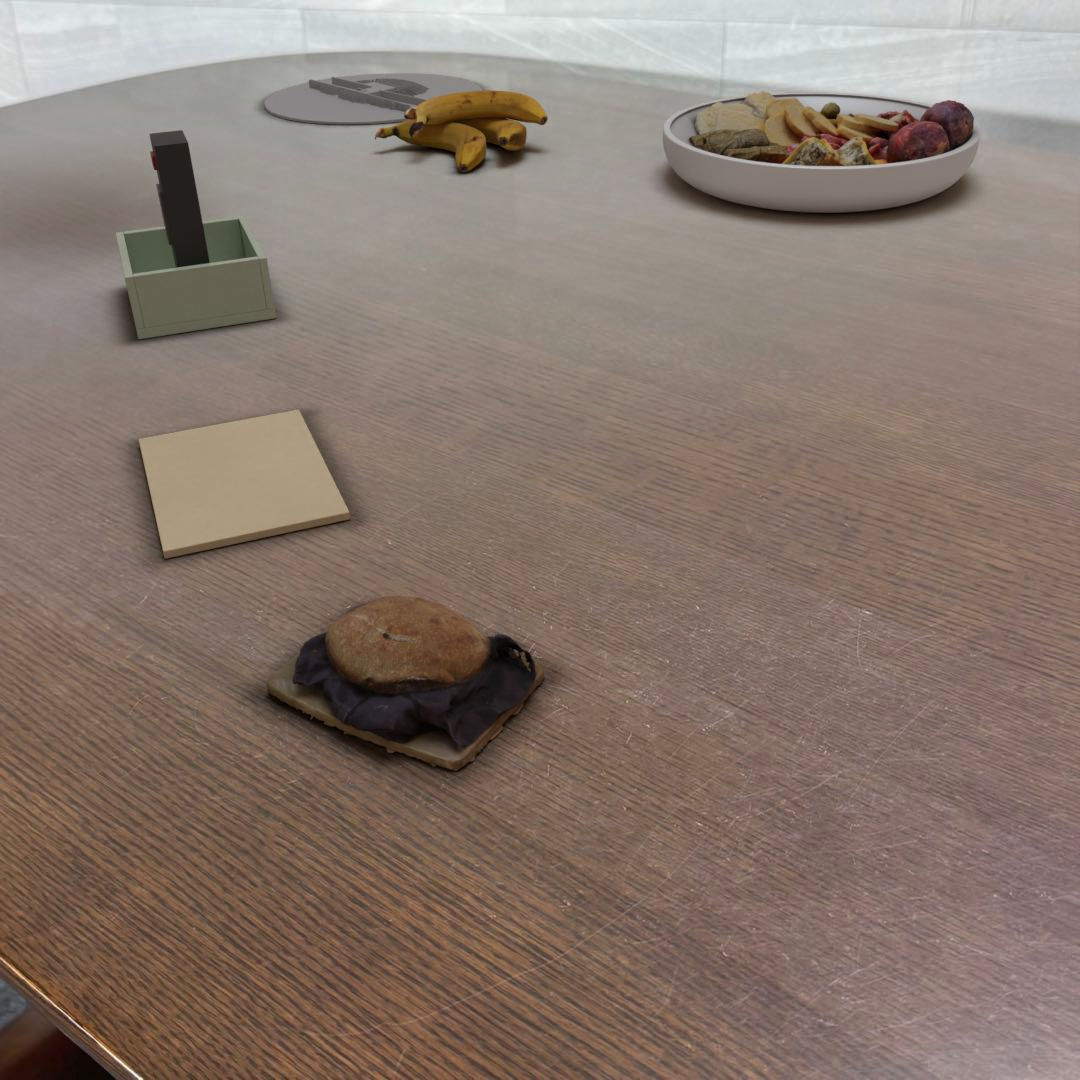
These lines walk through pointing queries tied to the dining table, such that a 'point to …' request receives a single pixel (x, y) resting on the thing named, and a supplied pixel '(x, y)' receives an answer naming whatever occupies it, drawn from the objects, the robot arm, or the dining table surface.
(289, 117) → the plate
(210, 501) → the mat
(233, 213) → the dining table surface
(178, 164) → the bar
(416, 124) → the banana
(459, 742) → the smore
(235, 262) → the green open box
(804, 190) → the bowl
